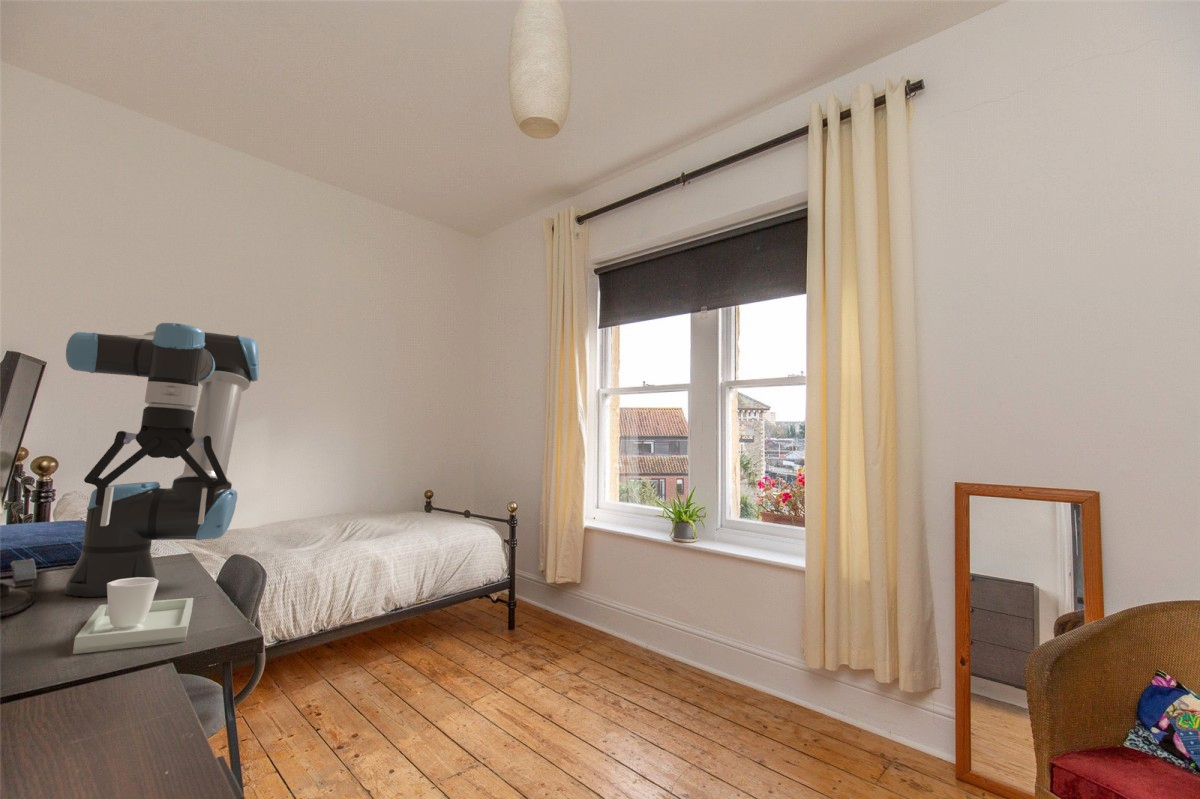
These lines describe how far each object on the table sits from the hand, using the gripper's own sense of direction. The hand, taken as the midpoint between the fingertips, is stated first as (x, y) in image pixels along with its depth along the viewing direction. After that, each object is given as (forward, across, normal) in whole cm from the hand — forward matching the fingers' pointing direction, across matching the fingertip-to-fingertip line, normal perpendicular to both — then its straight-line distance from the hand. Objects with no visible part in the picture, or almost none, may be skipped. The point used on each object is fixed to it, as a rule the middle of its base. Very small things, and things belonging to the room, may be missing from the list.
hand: (154, 524), depth 99 cm
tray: (+18, 0, 0) cm, 18 cm away
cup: (+18, -2, -1) cm, 18 cm away
